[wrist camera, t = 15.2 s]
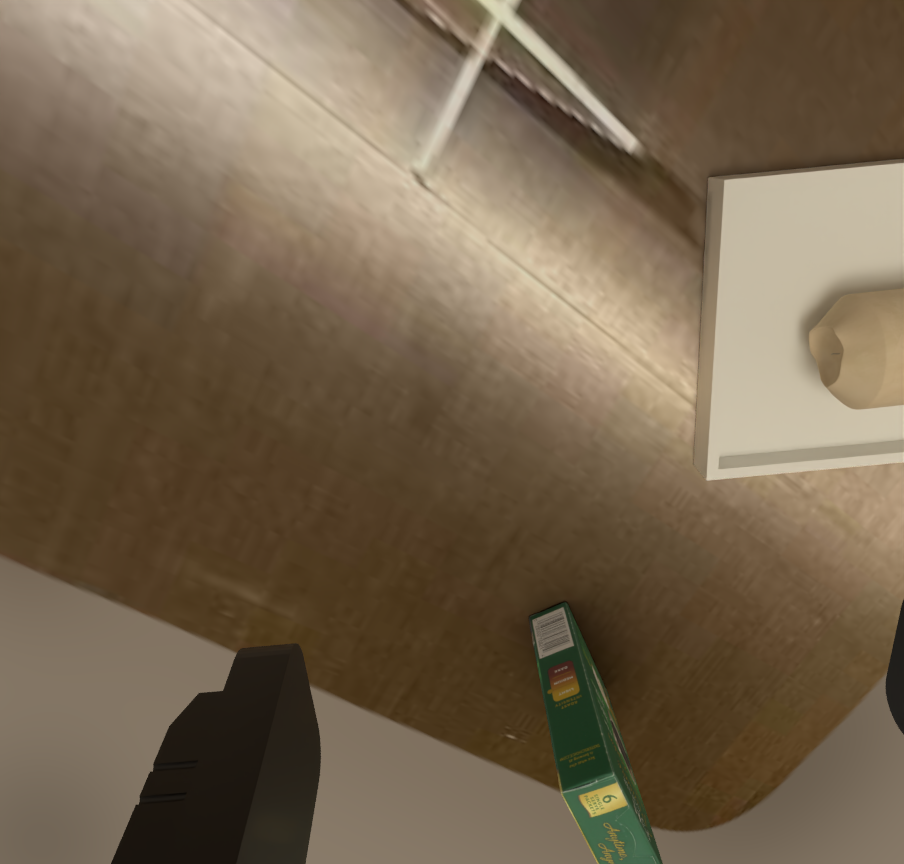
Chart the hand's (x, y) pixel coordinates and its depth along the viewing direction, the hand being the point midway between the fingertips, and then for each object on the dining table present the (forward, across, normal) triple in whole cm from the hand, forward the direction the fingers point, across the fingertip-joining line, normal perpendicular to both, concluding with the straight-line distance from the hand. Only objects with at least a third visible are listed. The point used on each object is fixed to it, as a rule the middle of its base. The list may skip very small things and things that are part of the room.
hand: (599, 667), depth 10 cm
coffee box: (+28, -4, +24) cm, 37 cm away
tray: (+28, -21, +4) cm, 35 cm away
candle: (+24, -26, +5) cm, 36 cm away
